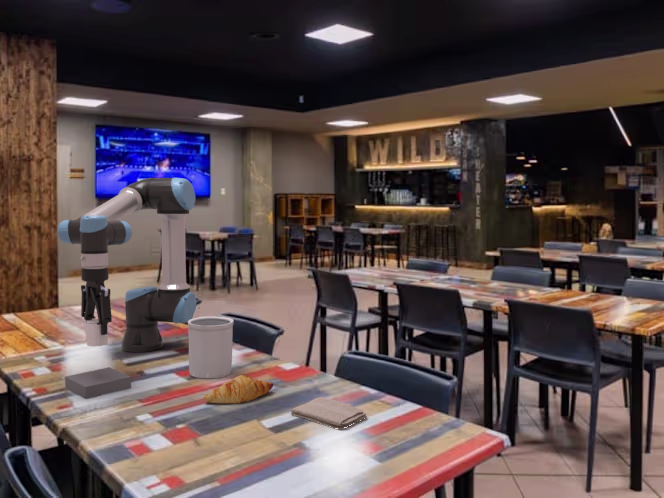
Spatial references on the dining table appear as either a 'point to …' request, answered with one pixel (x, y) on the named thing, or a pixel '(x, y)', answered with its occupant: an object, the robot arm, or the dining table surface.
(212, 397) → the croissant
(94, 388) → the block
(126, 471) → the dining table surface
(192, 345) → the utensil holder
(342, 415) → the washcloth
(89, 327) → the shot glass
